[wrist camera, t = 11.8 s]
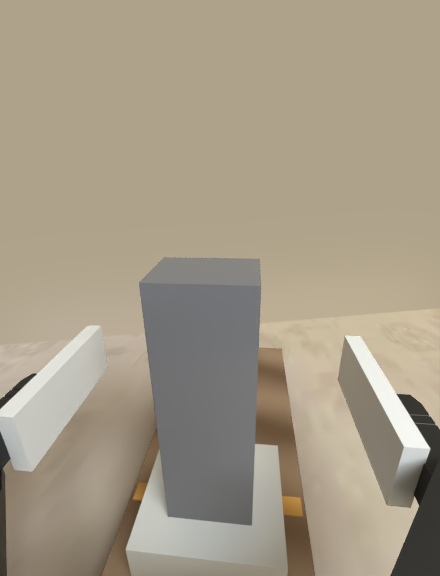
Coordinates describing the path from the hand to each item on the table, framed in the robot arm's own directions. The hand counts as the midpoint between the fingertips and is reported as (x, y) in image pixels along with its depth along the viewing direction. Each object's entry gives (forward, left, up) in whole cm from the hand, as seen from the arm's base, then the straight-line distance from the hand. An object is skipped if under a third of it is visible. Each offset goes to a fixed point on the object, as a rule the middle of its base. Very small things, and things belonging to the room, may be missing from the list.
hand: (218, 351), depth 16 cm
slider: (0, -3, -8) cm, 9 cm away
